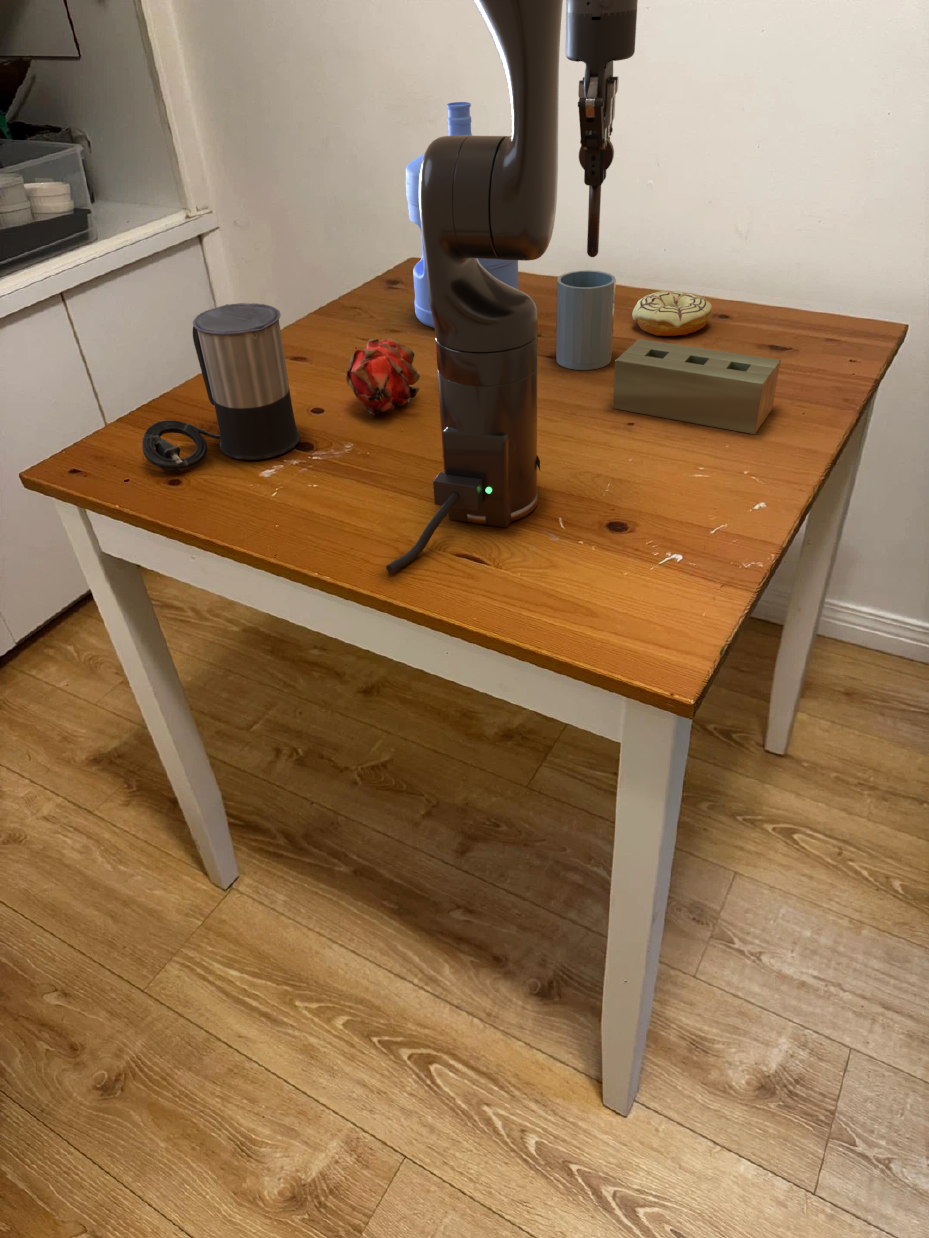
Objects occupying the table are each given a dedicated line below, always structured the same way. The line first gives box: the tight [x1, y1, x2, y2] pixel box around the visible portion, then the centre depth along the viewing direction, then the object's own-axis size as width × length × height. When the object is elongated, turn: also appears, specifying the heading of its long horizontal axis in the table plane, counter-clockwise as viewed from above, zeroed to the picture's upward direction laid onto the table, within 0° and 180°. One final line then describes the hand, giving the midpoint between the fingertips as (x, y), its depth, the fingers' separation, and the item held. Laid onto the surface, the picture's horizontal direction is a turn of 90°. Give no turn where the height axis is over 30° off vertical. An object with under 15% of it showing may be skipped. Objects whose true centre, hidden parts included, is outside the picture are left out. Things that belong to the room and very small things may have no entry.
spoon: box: [578, 137, 615, 258], centre depth 109 cm, size 4×1×14 cm, turn 75°
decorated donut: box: [631, 290, 713, 337], centre depth 129 cm, size 10×11×4 cm
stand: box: [612, 338, 781, 435], centre depth 106 cm, size 7×17×6 cm, turn 60°
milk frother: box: [141, 302, 301, 471], centre depth 100 cm, size 14×16×15 cm
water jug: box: [405, 101, 519, 329], centre depth 129 cm, size 16×16×28 cm
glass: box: [555, 269, 617, 371], centre depth 118 cm, size 7×7×10 cm
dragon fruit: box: [345, 337, 421, 417], centre depth 111 cm, size 8×8×12 cm
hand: (595, 182), depth 108 cm, fingers closed on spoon, 1 cm apart
